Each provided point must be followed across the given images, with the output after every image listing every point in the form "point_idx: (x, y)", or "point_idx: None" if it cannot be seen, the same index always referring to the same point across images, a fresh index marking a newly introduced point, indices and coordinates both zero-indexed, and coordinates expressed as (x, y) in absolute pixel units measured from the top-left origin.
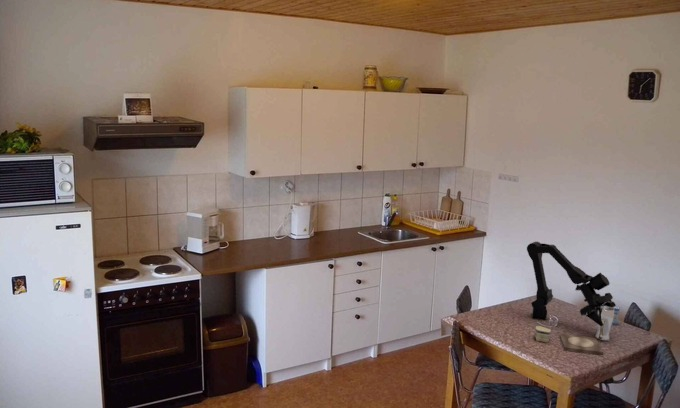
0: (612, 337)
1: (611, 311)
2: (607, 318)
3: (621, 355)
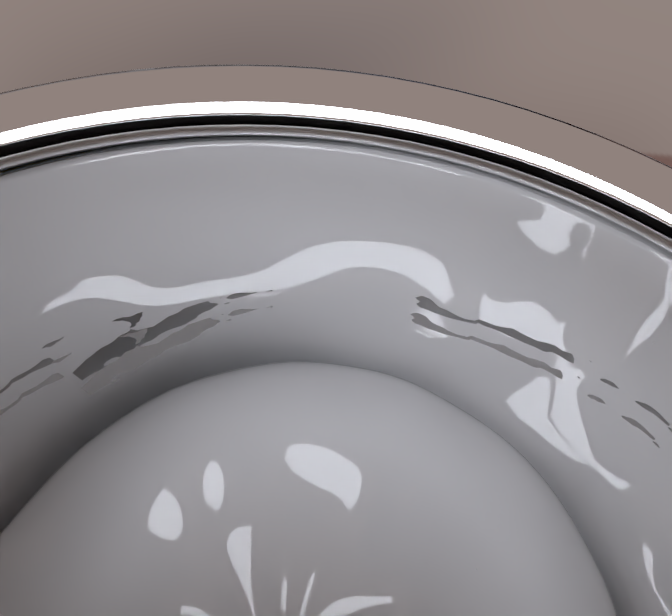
0: None
1: (508, 176)
2: (553, 440)
3: None
